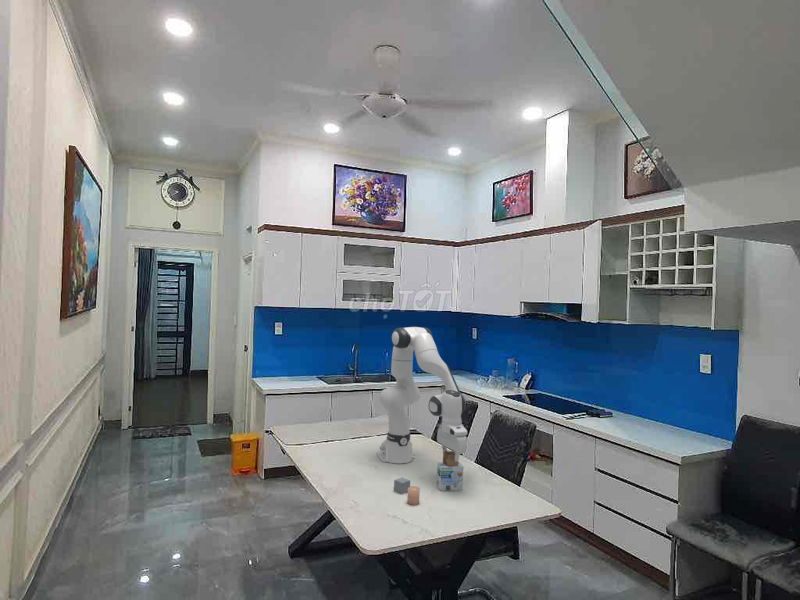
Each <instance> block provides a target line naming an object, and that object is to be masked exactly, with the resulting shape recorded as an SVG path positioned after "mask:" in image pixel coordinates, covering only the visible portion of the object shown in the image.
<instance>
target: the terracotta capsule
mask: <svg viewBox="0 0 800 600" xmlns="http://www.w3.org/2000/svg"><path fill="white" fill-rule="evenodd" d="M420 488H421V487H419V486H415V485H412V486H411V485H410V487H408V492H407V497H406V498H407V500H406V501H407V502H406V503H407V504H408V505H409V506H418V505H419V504H420V493H421V492H420V491H421V489H420Z"/></svg>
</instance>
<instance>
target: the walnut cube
mask: <svg viewBox="0 0 800 600" xmlns="http://www.w3.org/2000/svg"><path fill="white" fill-rule="evenodd" d="M447 451H448V452H443V451H442V462H443V463H444V464H445V465H447V466H448V467H449V466H456V465H458V462H459V461H454V457H455V451H453V450H447Z"/></svg>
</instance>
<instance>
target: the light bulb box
mask: <svg viewBox="0 0 800 600" xmlns="http://www.w3.org/2000/svg"><path fill="white" fill-rule="evenodd" d="M436 472H437V473H436V486H437V488H438V490H439V491H440V492H444V491H445V492H446V491H463V488H464V486H463V484H464V483H463V482H464V465H462V463H461V462H460V461H458V465H456V466H449V467H448V466H447V465H445V464H444V463H443V461H442V462H437V469H436Z"/></svg>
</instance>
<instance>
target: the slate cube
mask: <svg viewBox="0 0 800 600" xmlns="http://www.w3.org/2000/svg"><path fill="white" fill-rule="evenodd" d="M408 487H411V479H407V478H405V477H403V476H402V477H399V478H396V479H393V492H395V493H397V494H400V495H404V494H408Z"/></svg>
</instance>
